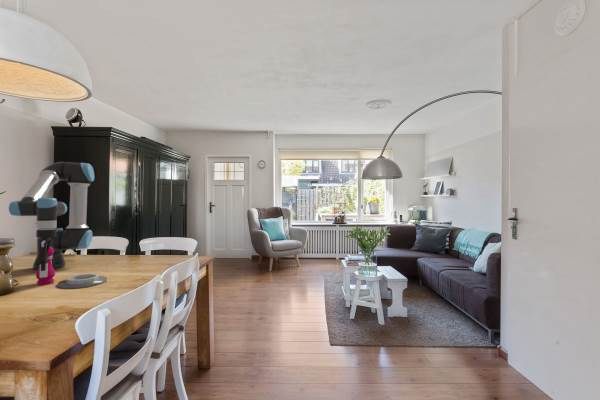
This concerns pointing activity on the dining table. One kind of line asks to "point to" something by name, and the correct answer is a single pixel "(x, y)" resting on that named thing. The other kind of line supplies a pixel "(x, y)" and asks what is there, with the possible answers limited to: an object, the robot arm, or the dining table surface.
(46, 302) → the dining table surface
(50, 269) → the pepper mill
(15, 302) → the dining table surface
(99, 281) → the ring seat
